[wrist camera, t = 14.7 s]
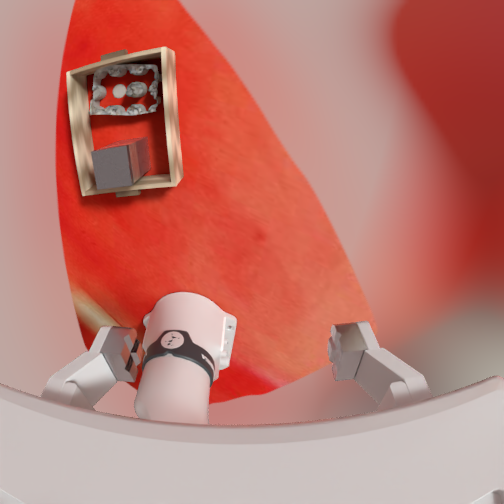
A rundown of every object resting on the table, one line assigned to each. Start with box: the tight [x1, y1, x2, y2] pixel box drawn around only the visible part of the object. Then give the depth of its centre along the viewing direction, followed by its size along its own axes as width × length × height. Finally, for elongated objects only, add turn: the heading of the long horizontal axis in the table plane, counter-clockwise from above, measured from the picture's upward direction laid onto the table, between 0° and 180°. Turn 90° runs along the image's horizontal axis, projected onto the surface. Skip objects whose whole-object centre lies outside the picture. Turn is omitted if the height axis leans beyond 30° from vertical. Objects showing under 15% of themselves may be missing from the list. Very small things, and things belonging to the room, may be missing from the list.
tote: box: [66, 47, 184, 197], centre depth 36 cm, size 21×15×5 cm
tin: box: [91, 137, 151, 190], centre depth 37 cm, size 5×5×8 cm
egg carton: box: [89, 64, 162, 115], centre depth 34 cm, size 11×8×4 cm
